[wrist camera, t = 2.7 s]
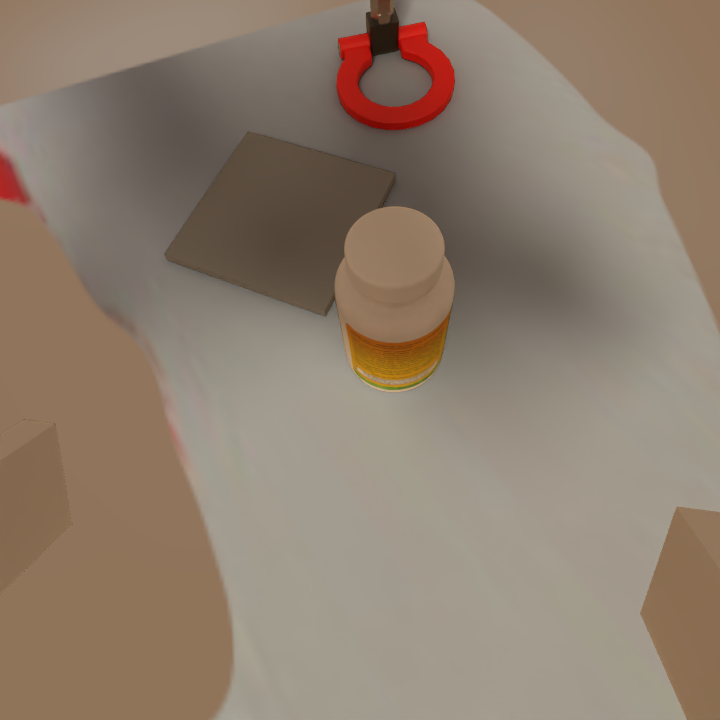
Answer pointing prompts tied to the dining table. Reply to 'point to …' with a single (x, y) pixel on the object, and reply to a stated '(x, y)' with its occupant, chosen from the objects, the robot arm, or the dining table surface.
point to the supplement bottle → (394, 298)
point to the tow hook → (412, 46)
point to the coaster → (280, 220)
